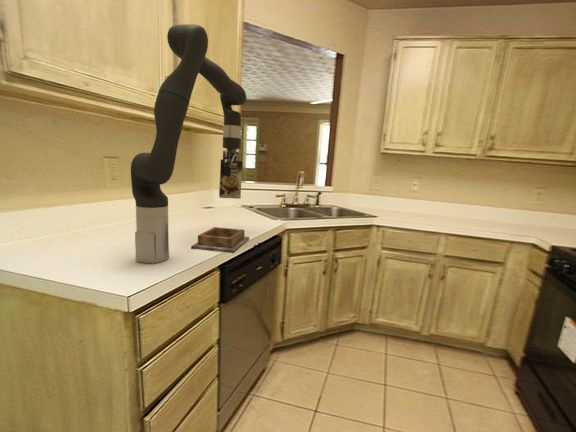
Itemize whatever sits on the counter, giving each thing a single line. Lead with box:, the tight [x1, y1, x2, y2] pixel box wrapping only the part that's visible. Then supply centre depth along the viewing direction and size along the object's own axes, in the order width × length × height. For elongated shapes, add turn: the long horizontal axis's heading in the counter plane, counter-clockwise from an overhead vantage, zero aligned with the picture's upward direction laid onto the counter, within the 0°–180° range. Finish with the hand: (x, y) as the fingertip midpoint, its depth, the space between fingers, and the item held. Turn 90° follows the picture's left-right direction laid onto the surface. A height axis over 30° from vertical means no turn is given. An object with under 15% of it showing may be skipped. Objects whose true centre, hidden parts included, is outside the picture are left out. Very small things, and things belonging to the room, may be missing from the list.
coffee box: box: [218, 158, 243, 200], centre depth 132 cm, size 9×6×16 cm
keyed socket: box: [190, 226, 250, 254], centre depth 119 cm, size 16×20×4 cm
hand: (230, 175), depth 132 cm, fingers closed on coffee box, 8 cm apart
